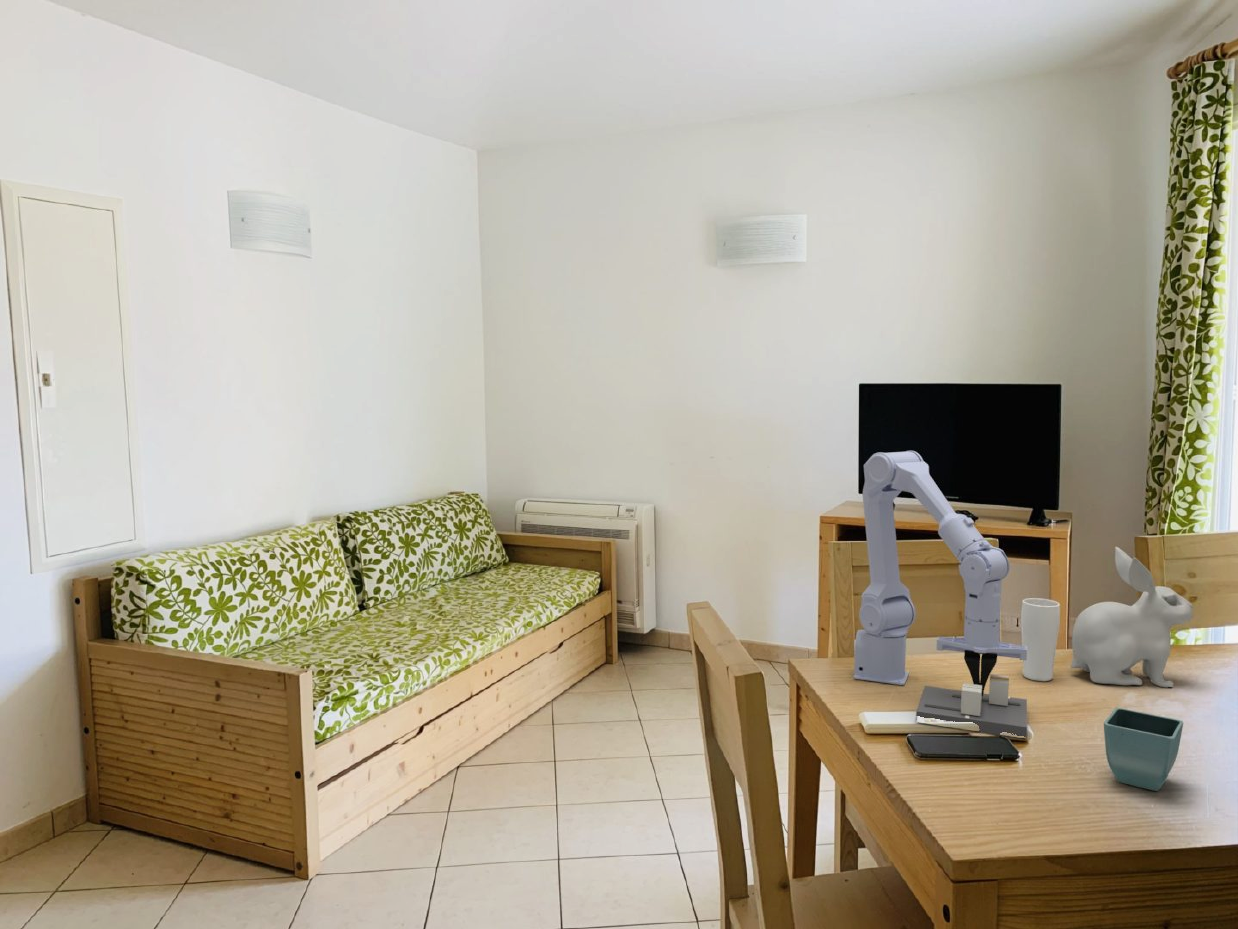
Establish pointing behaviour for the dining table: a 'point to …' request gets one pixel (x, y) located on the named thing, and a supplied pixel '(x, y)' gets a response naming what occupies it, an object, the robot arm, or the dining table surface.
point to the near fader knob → (971, 699)
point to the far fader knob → (998, 689)
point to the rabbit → (1129, 630)
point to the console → (990, 720)
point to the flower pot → (1141, 747)
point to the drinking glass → (1039, 637)
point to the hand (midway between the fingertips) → (979, 694)
